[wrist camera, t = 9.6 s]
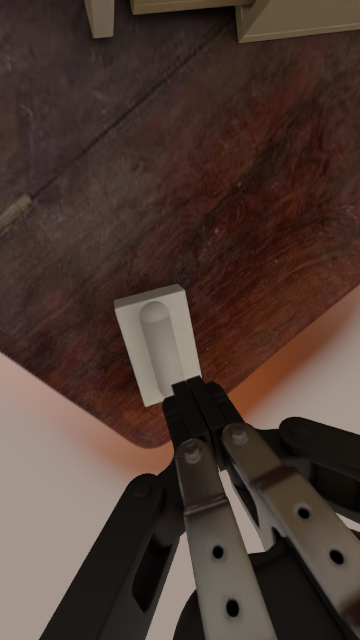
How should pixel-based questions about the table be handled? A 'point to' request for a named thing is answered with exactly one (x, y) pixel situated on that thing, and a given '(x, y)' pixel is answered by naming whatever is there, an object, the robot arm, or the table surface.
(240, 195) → the table surface
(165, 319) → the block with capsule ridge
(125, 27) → the table surface
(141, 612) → the robot arm
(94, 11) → the drawer
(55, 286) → the table surface
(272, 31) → the cabinet
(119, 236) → the table surface
